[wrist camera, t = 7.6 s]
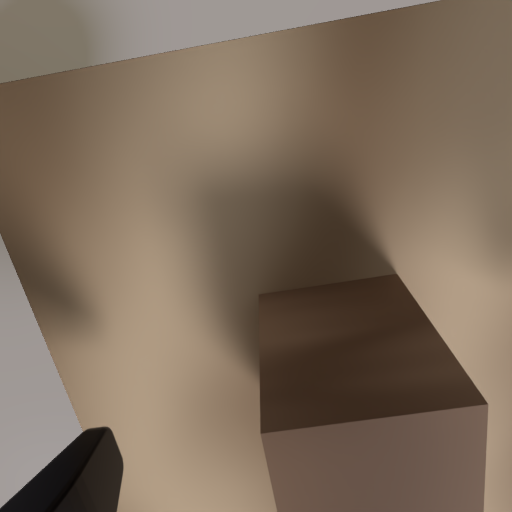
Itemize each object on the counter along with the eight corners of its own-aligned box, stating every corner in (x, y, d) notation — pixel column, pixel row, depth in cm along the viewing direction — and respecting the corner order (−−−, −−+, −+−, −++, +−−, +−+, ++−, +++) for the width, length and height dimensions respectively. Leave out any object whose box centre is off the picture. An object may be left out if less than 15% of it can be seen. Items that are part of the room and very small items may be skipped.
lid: (652, -37, 8) (1153, -173, 3) (573, 481, 13) (739, 695, 8) (-31, 92, 9) (-326, 114, 4) (142, 531, 14) (88, 750, 9)
